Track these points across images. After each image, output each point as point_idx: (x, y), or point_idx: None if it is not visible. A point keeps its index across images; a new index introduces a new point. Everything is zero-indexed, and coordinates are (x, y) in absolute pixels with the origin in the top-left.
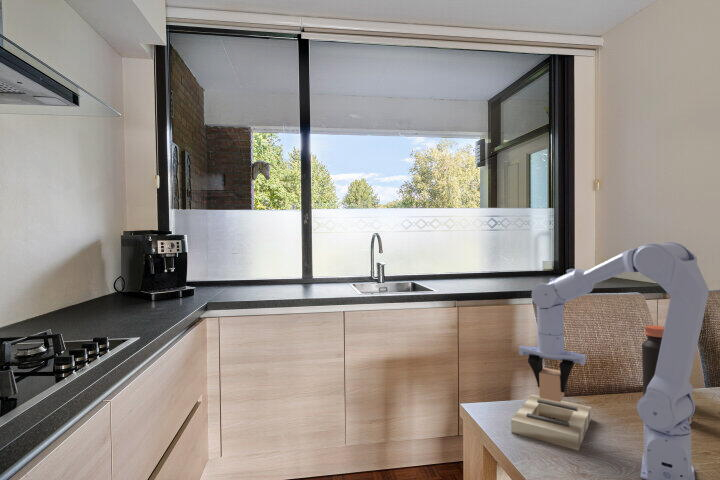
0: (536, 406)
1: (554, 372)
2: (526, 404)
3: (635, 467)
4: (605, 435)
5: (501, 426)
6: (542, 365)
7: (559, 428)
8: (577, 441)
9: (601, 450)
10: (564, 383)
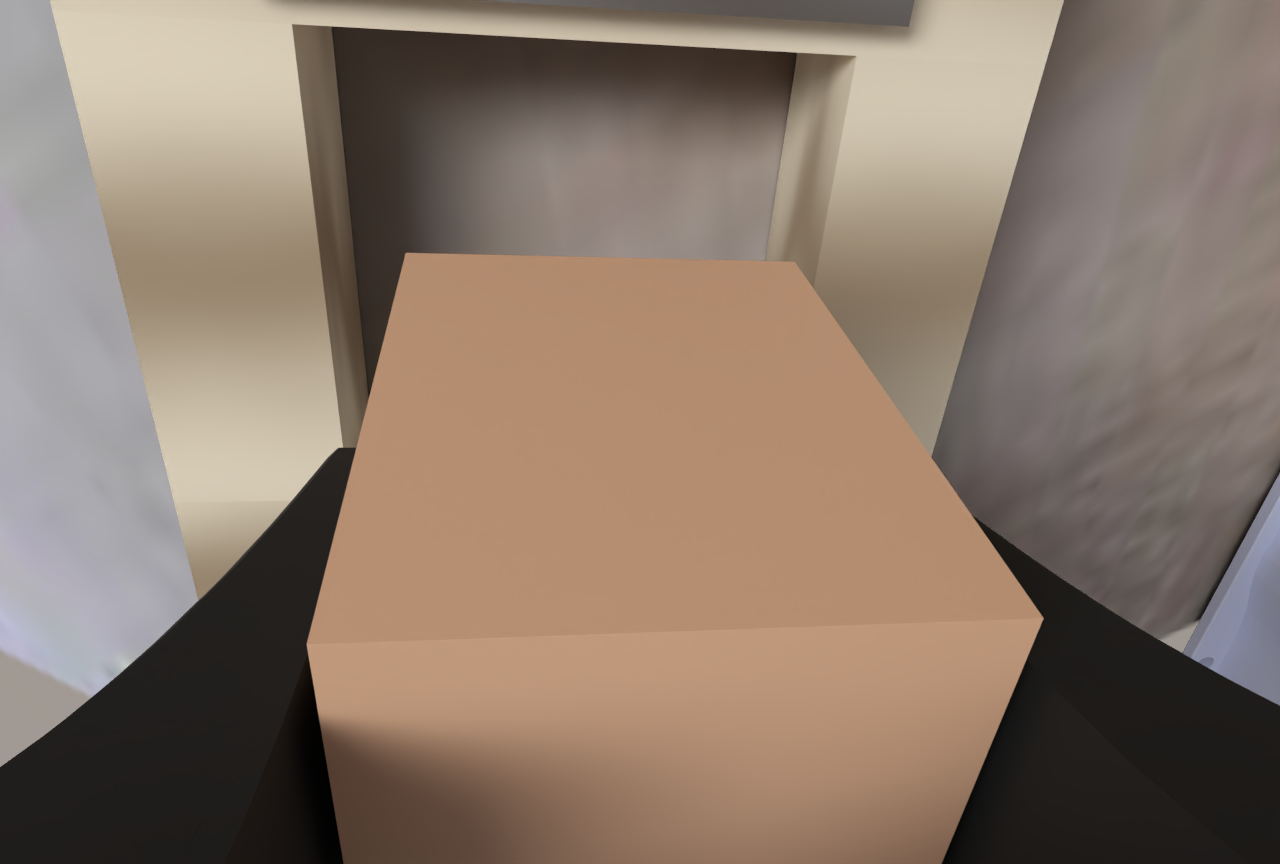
0: (308, 184)
1: (755, 848)
2: (140, 191)
3: (1177, 582)
4: (1109, 169)
5: (109, 545)
6: (260, 802)
7: None
8: None
9: (1003, 486)
10: None
